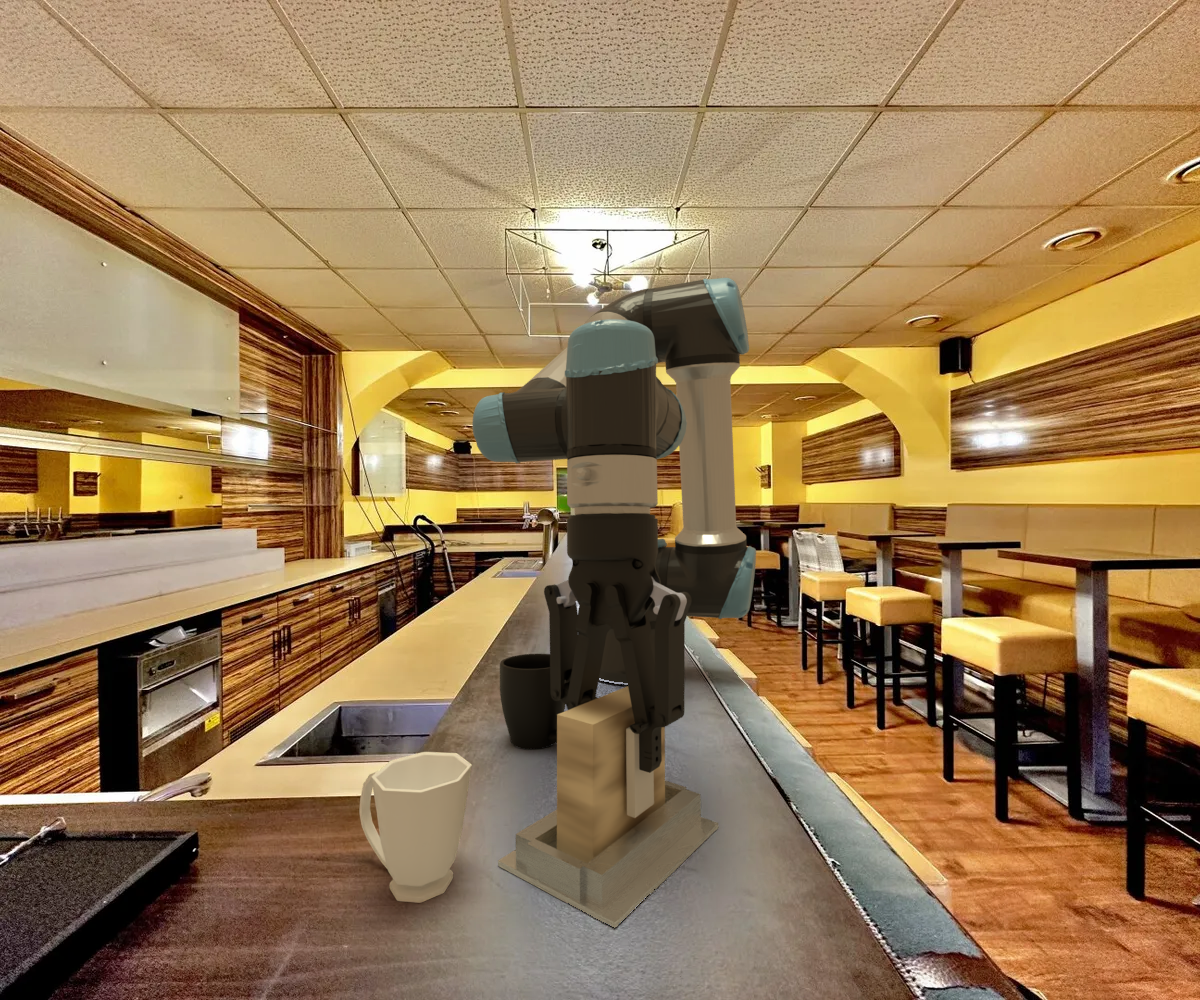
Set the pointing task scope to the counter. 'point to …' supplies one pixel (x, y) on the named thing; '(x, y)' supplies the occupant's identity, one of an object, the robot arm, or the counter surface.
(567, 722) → the wooden block
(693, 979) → the counter surface
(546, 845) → the beige piece
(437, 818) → the cup
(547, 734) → the mug
